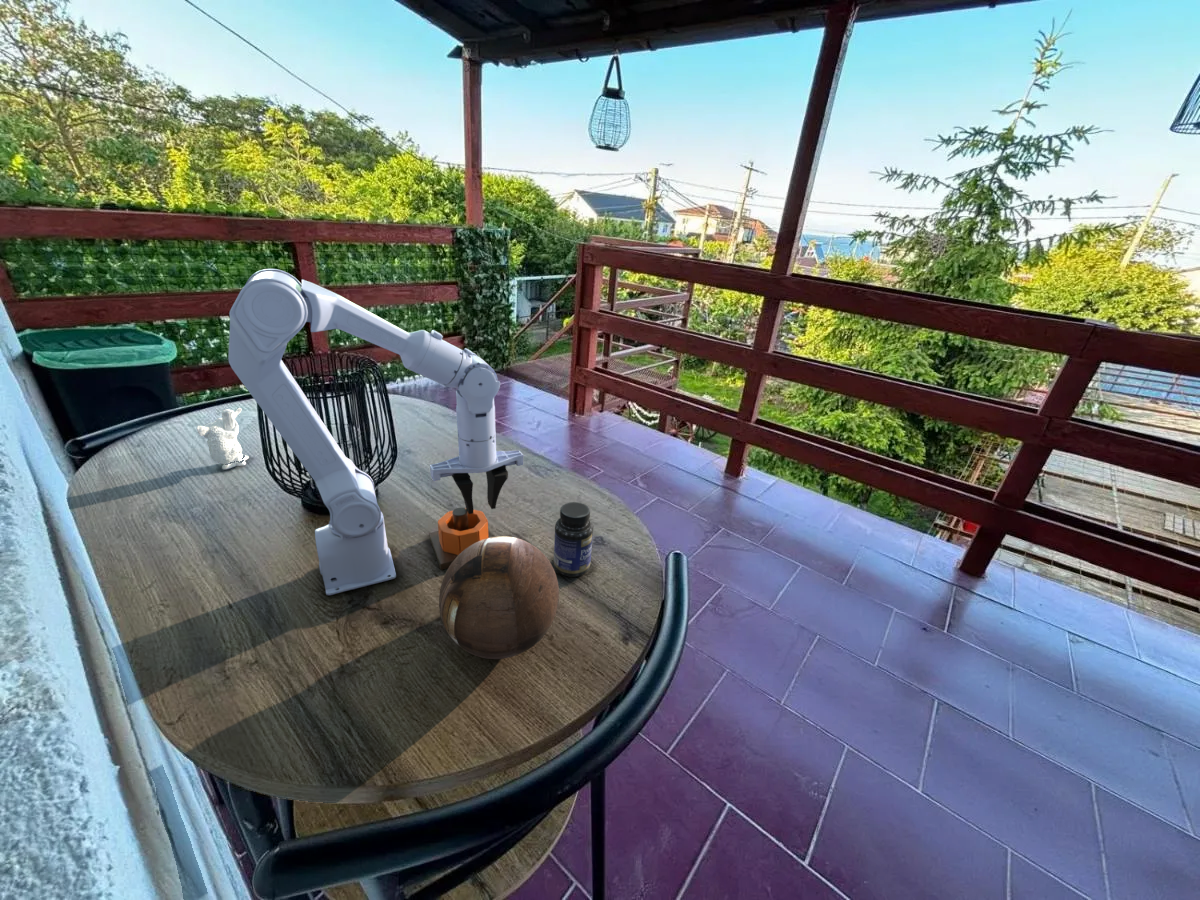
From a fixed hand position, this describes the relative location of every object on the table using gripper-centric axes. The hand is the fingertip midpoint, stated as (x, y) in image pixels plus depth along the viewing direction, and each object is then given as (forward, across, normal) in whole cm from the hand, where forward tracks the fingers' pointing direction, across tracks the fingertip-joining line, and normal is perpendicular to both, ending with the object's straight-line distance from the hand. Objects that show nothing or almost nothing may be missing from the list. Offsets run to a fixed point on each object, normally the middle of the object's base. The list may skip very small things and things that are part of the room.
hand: (480, 508), depth 80 cm
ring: (+6, +3, 0) cm, 6 cm away
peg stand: (+7, +3, 0) cm, 8 cm away
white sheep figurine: (+7, +39, -46) cm, 61 cm away
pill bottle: (+7, -12, +12) cm, 18 cm away
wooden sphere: (+7, +4, +22) cm, 23 cm away
